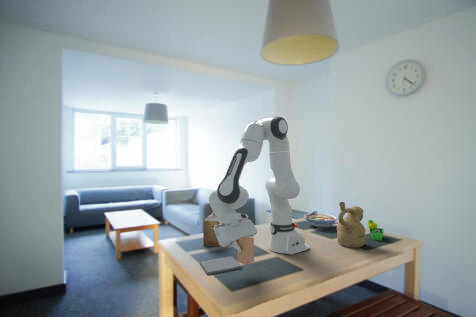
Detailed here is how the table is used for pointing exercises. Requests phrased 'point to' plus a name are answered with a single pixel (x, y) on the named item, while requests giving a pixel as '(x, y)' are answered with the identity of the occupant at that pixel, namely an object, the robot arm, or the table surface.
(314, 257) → the table surface
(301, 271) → the table surface
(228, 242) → the robot arm
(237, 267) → the mat
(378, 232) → the fruit basket
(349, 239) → the ceramic vessel
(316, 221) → the ramen bowl
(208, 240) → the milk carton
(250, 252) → the block
